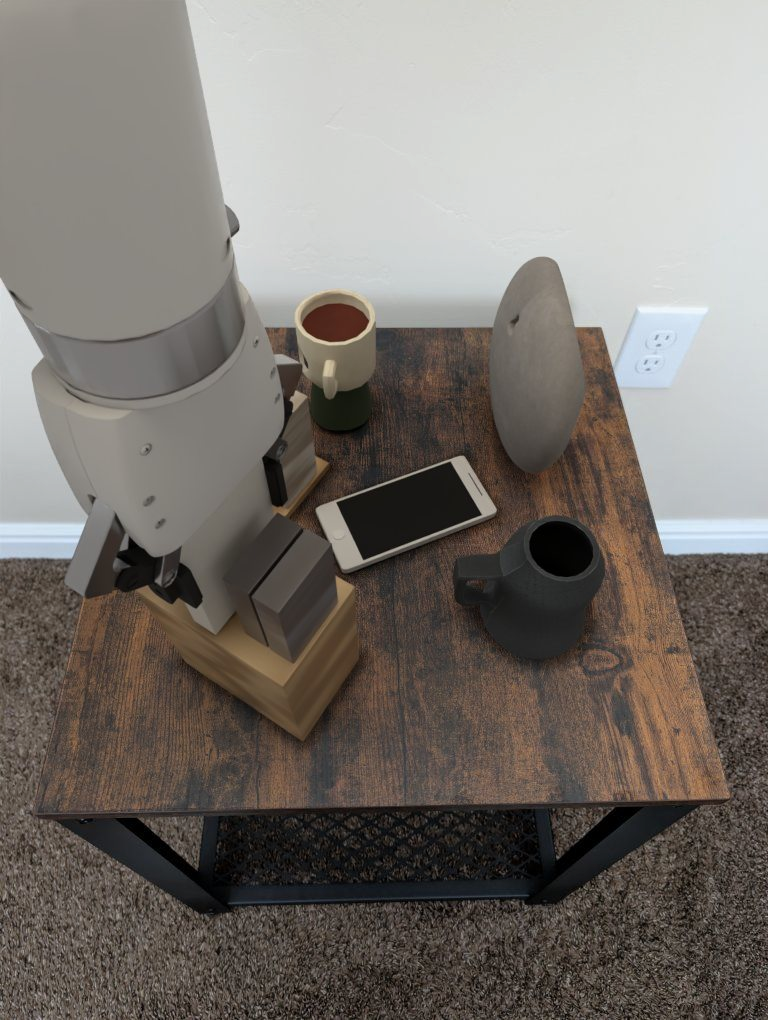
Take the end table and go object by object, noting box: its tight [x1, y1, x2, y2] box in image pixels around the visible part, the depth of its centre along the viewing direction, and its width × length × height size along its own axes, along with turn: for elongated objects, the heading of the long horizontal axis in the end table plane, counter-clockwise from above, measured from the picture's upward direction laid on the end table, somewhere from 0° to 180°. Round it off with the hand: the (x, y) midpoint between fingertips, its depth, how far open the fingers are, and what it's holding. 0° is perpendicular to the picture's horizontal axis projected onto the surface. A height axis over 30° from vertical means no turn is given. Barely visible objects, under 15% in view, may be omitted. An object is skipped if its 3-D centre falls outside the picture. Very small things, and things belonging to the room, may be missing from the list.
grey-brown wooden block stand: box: [272, 390, 330, 519], centre depth 63 cm, size 14×8×12 cm, turn 58°
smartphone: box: [315, 455, 498, 574], centre depth 65 cm, size 7×16×1 cm, turn 114°
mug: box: [452, 514, 606, 661], centre depth 56 cm, size 12×9×11 cm
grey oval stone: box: [488, 256, 587, 475], centre depth 63 cm, size 18×7×19 cm, turn 3°
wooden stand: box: [136, 512, 360, 742], centre depth 49 cm, size 12×8×22 cm, turn 58°
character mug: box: [294, 288, 377, 432], centre depth 67 cm, size 11×7×13 cm, turn 174°
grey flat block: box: [179, 458, 274, 635], centre depth 41 cm, size 2×7×11 cm, turn 148°
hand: (223, 539), depth 41 cm, fingers closed on grey flat block, 7 cm apart
